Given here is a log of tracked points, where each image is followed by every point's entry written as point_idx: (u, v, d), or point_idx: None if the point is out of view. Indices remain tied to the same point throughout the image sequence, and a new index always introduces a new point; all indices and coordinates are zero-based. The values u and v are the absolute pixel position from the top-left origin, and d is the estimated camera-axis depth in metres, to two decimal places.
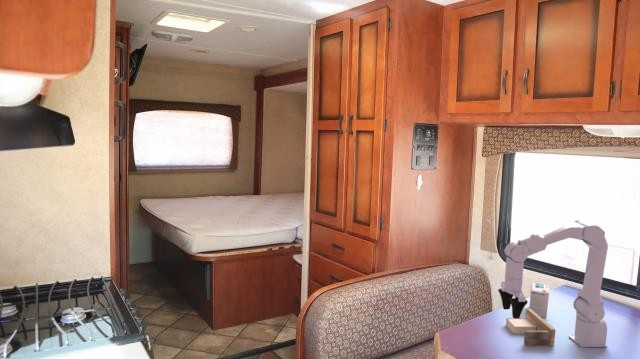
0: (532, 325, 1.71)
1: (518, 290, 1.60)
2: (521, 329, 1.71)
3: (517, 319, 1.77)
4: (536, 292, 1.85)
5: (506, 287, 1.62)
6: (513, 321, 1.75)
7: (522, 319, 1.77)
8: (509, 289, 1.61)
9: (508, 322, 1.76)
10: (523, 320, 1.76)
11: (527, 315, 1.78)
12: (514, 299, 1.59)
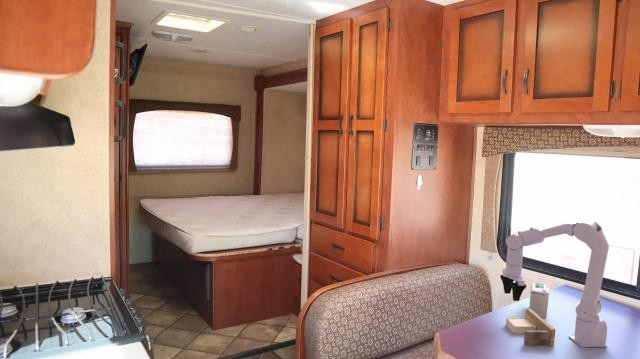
0: (532, 325, 1.71)
1: (518, 275, 1.78)
2: (521, 329, 1.71)
3: (517, 319, 1.77)
4: (536, 292, 1.85)
5: (507, 273, 1.80)
6: (513, 321, 1.75)
7: (522, 319, 1.77)
8: (510, 274, 1.79)
9: (508, 322, 1.76)
10: (523, 320, 1.76)
11: (527, 315, 1.78)
12: (514, 283, 1.76)
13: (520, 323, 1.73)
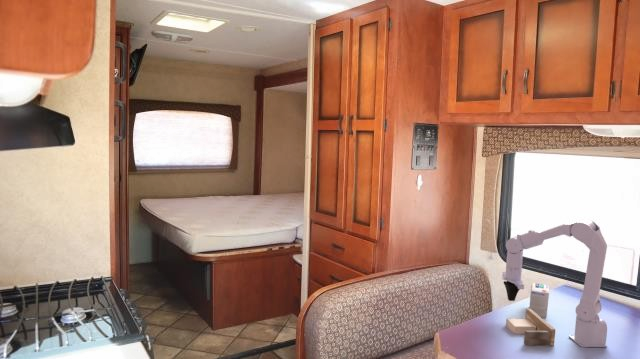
0: (532, 325, 1.71)
1: (518, 279, 1.78)
2: (521, 329, 1.71)
3: (517, 319, 1.77)
4: (536, 292, 1.85)
5: (507, 276, 1.80)
6: (513, 321, 1.75)
7: (522, 319, 1.77)
8: (509, 278, 1.79)
9: (508, 322, 1.76)
10: (523, 320, 1.76)
11: (527, 315, 1.78)
12: (510, 284, 1.80)
13: (520, 323, 1.73)
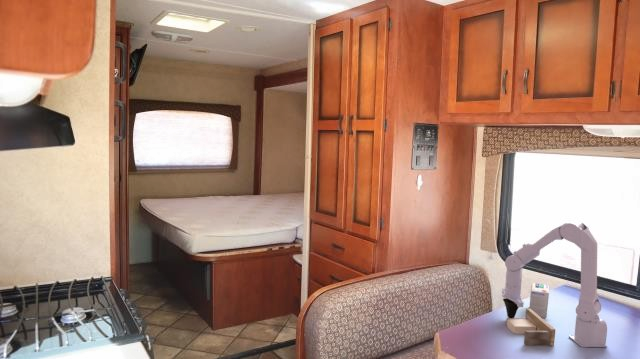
0: (532, 325, 1.71)
1: (517, 297, 1.79)
2: (521, 329, 1.71)
3: (517, 319, 1.77)
4: (536, 292, 1.85)
5: (506, 294, 1.80)
6: (513, 321, 1.75)
7: (522, 319, 1.77)
8: (509, 296, 1.79)
9: (508, 322, 1.76)
10: (523, 320, 1.76)
11: (527, 315, 1.78)
12: (509, 301, 1.80)
13: (520, 323, 1.73)
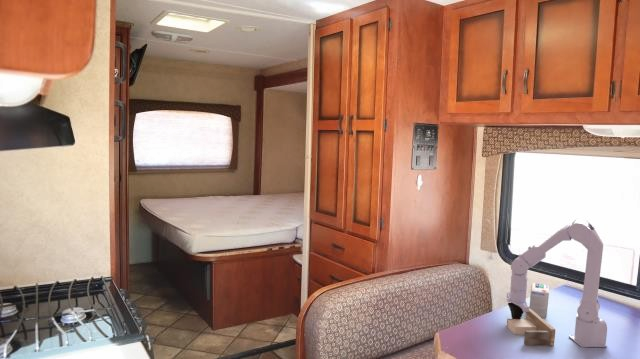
0: (533, 325, 1.71)
1: (522, 301, 1.74)
2: (521, 329, 1.70)
3: (517, 319, 1.76)
4: (536, 292, 1.85)
5: (511, 298, 1.76)
6: (514, 321, 1.74)
7: (523, 319, 1.76)
8: (514, 300, 1.75)
9: (509, 322, 1.75)
10: (524, 320, 1.75)
11: (527, 315, 1.78)
12: (514, 305, 1.76)
13: (521, 323, 1.72)
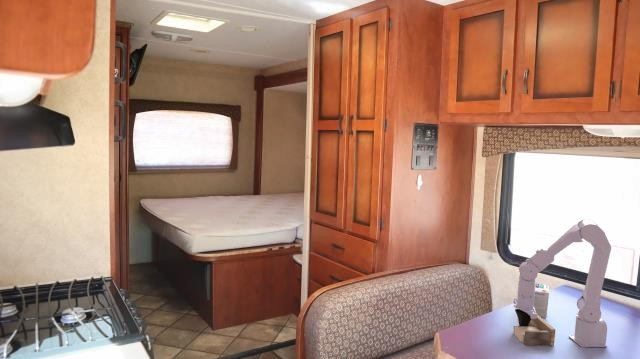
0: None
1: (530, 307, 1.68)
2: None
3: (524, 326, 1.70)
4: (536, 292, 1.85)
5: (518, 304, 1.70)
6: (521, 329, 1.68)
7: (530, 327, 1.70)
8: (521, 306, 1.69)
9: (516, 330, 1.69)
10: (531, 328, 1.69)
11: None
12: (522, 312, 1.70)
13: None
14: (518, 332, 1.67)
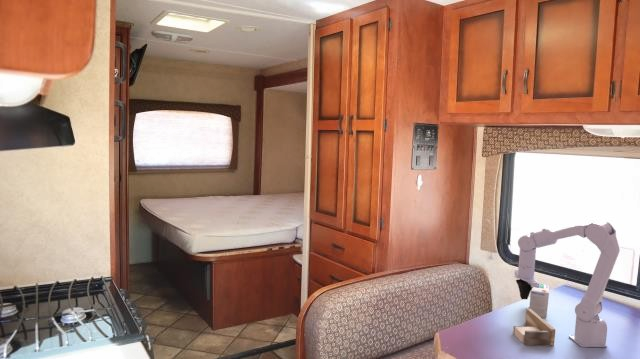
0: None
1: (531, 277, 1.76)
2: None
3: (524, 326, 1.70)
4: (536, 292, 1.85)
5: (519, 274, 1.78)
6: (521, 329, 1.68)
7: (530, 327, 1.70)
8: (522, 276, 1.77)
9: (515, 330, 1.69)
10: (531, 328, 1.69)
11: (527, 315, 1.78)
12: (523, 282, 1.78)
13: None
14: (518, 332, 1.67)
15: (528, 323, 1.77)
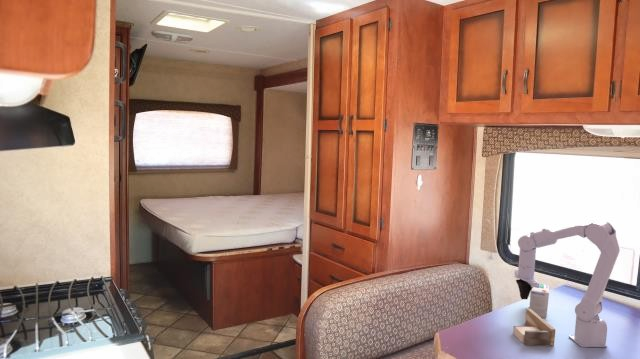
0: None
1: (531, 277, 1.76)
2: None
3: (524, 326, 1.70)
4: (536, 292, 1.85)
5: (519, 274, 1.78)
6: (521, 329, 1.68)
7: (530, 327, 1.70)
8: (522, 276, 1.77)
9: (515, 330, 1.69)
10: (531, 328, 1.69)
11: (527, 315, 1.78)
12: (523, 282, 1.78)
13: None
14: (518, 332, 1.67)
15: (528, 323, 1.77)
